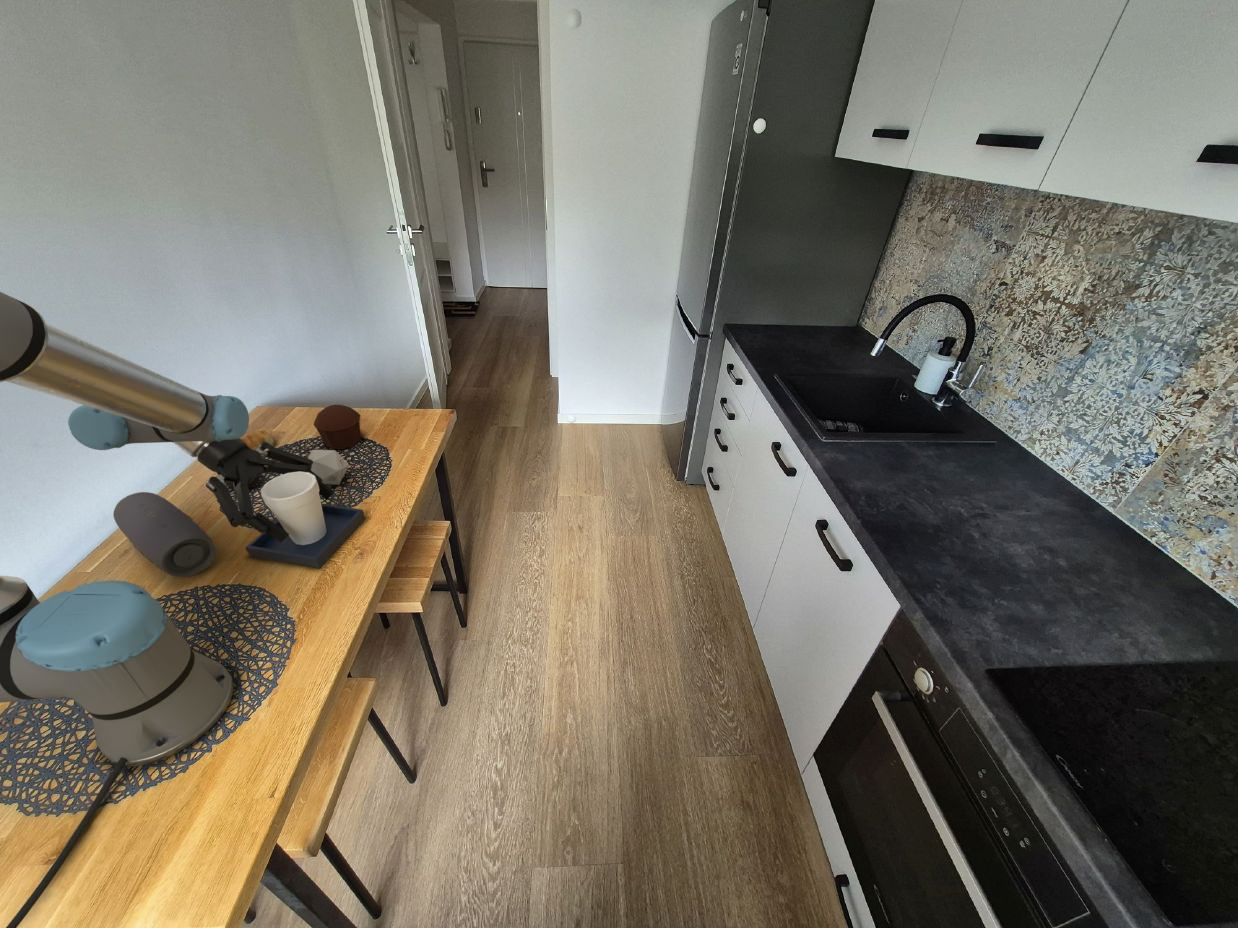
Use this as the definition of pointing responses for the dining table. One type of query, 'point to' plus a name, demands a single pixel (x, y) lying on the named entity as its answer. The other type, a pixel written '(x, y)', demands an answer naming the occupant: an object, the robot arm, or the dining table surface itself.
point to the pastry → (257, 439)
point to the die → (328, 466)
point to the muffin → (338, 426)
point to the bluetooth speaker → (164, 534)
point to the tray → (315, 554)
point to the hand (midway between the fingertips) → (309, 516)
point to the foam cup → (296, 505)
